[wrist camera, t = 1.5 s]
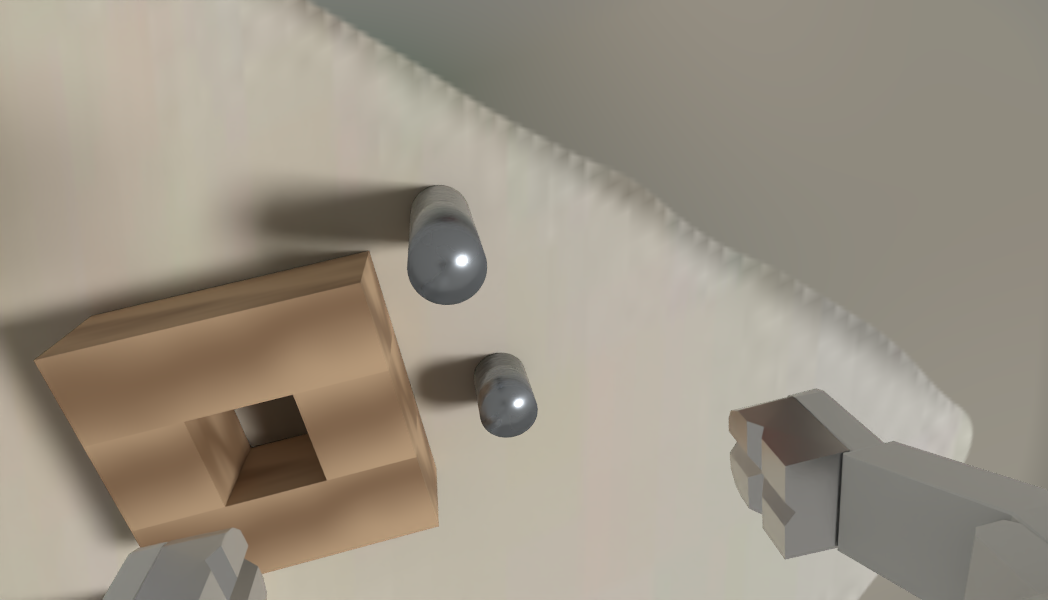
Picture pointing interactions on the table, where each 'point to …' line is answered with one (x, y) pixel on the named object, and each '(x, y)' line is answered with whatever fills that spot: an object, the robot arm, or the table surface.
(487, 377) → the short pin
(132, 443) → the hole block
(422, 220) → the tall pin
